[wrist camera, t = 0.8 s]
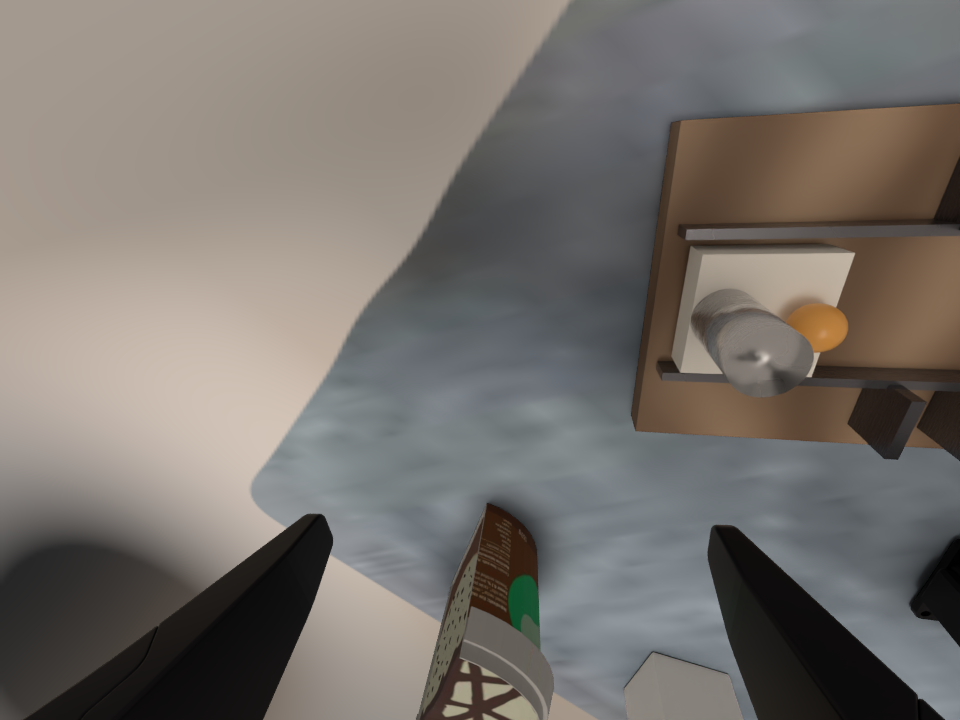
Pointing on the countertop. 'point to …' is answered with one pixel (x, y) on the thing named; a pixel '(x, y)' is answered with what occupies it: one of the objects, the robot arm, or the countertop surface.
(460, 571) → the food container
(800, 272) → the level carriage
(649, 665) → the milk
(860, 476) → the countertop surface
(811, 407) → the stand
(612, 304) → the countertop surface
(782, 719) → the robot arm
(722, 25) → the countertop surface
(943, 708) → the countertop surface
